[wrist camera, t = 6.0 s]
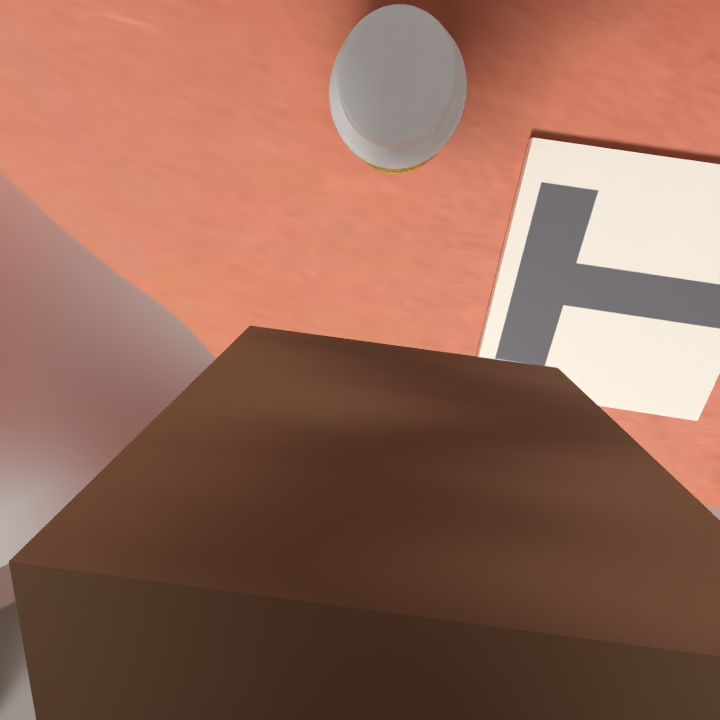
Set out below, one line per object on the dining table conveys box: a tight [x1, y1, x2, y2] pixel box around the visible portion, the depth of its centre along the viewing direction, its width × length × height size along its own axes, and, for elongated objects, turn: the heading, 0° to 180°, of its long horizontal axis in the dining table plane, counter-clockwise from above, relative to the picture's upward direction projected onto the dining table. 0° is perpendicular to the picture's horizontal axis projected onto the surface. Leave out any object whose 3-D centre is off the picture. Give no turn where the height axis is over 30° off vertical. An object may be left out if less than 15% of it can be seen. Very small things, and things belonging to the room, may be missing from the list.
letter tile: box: [476, 138, 720, 421], centre depth 26 cm, size 14×14×1 cm
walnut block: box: [9, 326, 720, 720], centre depth 7 cm, size 6×6×6 cm
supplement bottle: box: [329, 4, 467, 174], centre depth 19 cm, size 5×5×10 cm
